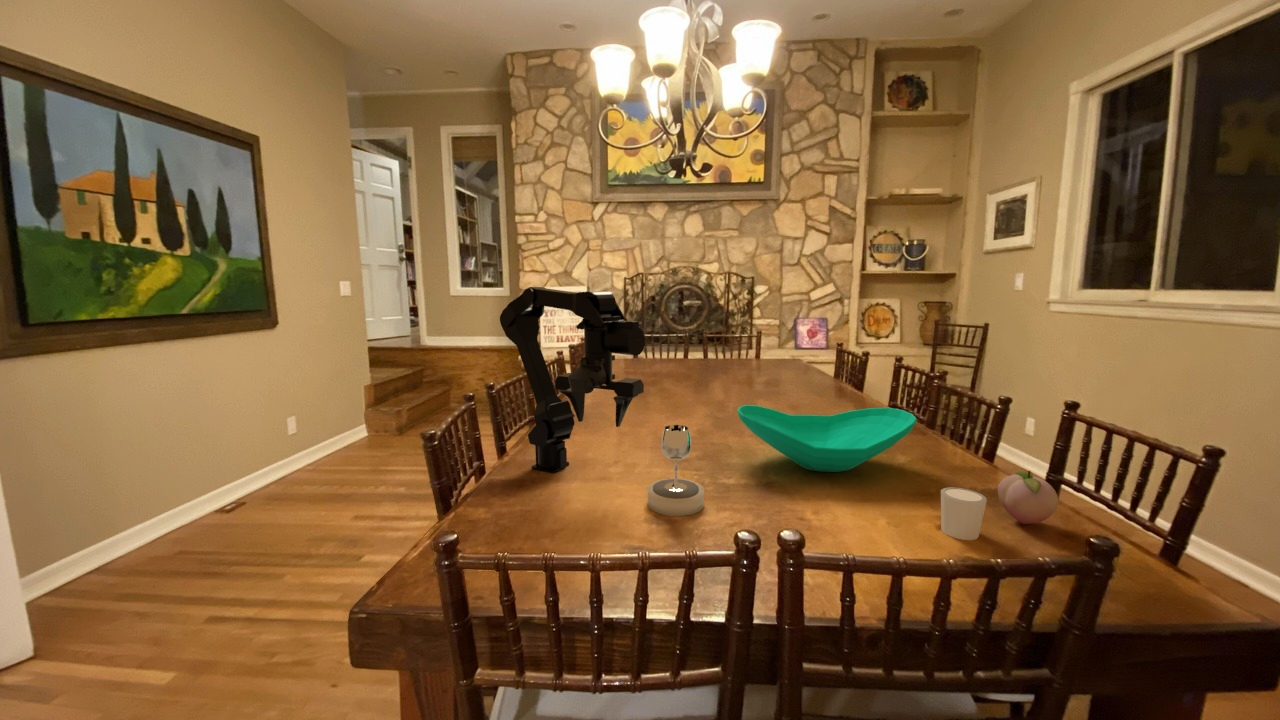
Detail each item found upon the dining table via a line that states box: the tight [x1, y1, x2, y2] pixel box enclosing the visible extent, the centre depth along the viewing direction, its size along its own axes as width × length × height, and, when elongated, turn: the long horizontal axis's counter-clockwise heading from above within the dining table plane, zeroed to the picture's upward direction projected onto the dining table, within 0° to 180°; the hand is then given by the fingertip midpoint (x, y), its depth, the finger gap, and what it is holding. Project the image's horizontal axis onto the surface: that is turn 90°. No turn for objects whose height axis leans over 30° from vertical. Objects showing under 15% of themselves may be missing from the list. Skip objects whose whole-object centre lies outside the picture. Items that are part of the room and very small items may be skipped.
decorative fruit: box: [997, 470, 1059, 525], centre depth 95 cm, size 9×8×10 cm
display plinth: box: [647, 478, 705, 517], centre depth 103 cm, size 11×11×3 cm
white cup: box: [940, 486, 987, 541], centre depth 92 cm, size 7×7×7 cm
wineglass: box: [660, 424, 692, 492], centre depth 102 cm, size 6×6×12 cm
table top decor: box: [736, 404, 918, 473], centre depth 123 cm, size 40×28×13 cm
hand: (599, 424), depth 113 cm, fingers open, 9 cm apart
